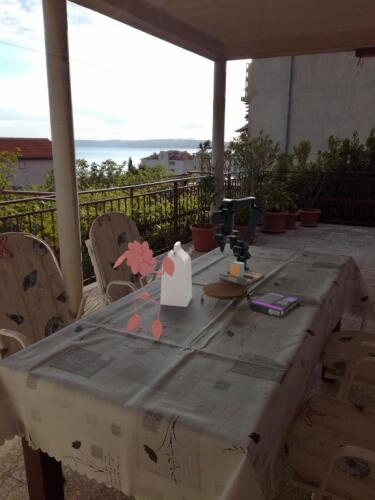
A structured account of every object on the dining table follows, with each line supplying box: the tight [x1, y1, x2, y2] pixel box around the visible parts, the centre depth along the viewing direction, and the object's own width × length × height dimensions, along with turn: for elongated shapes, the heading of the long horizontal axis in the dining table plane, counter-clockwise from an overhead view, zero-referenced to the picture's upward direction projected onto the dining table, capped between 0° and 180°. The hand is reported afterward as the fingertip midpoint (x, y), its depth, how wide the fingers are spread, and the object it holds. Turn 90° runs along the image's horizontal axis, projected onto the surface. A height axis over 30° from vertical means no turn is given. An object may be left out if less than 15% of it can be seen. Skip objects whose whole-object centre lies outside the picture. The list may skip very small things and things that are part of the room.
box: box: [249, 290, 300, 317], centre depth 170 cm, size 14×4×20 cm
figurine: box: [113, 240, 175, 350], centre depth 133 cm, size 15×26×35 cm, turn 60°
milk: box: [159, 241, 193, 308], centre depth 171 cm, size 12×12×26 cm
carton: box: [229, 260, 244, 278], centre depth 202 cm, size 4×6×8 cm, turn 51°
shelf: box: [219, 269, 265, 286], centre depth 207 cm, size 18×16×3 cm
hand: (226, 250), depth 215 cm, fingers open, 9 cm apart
